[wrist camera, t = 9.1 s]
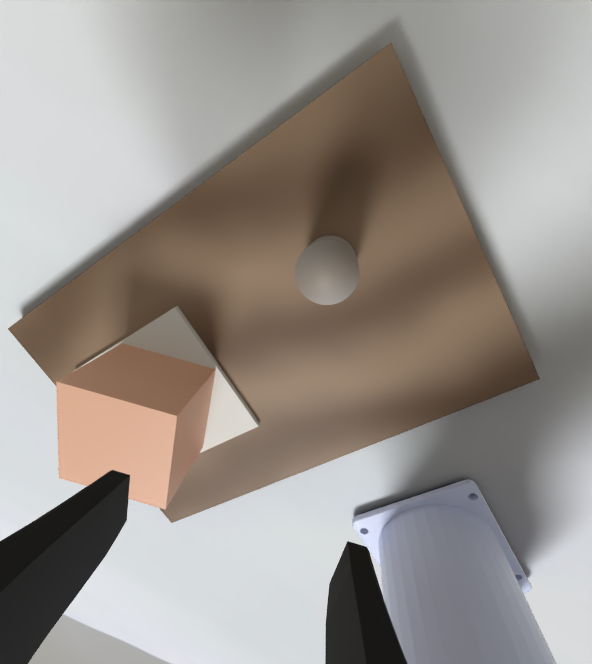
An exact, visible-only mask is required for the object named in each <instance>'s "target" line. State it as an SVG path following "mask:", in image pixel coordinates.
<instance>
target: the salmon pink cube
mask: <svg viewBox="0 0 592 664" xmlns="http://www.w3.org/2000/svg"><path fill="white" fill-rule="evenodd" d="M215 371H216V369H213V368H210V367H206V366H202V365H199V364H195V363H192V362H188V361H184V360H181V359H177V358H173V357H170V356H166V355H163V354H159V353H155V352H152V351H148V350H145V349H141V348H137V347H134V346H130V345H127V344H123V343H121V344H120V345H118V346H116V347H115V348H113V349H111V350H110V351H108V352H106V353H104V354H103V355H101V356H99V357H98V358H96V359H94V360H92V361H91V362H89V363H87V364H86V365H84V366H82V367H80V368H79V369H77V370H75V371H74V372H72V373H70V374H68V375H67V376H65V377H63V378H62V379H60V380H58V381H56V388H57V422H58V457H59V478H62V479H65V480H68V481H72V482H75V483H78V484H82V485H85V486H88V485H90V484H91V483H93V482H94V481H96V480H97V479H99V478H100V477H102V476H103V475H105V474H106V473H107V472H109V471H111V470H115V471H118V472H122V473H125V474H128V475H130V483H129V496H128V499H132V500H135V501H138V502H142V503H145V504H148V505H152V506H155V507H158V508H162V509H165V510H166V508H167V506H168V505H169V503H170V501H171V500H172V498H173V496H174V495H175V493H176V491H177V490H178V488H179V486H180V485H181V483H182V481H183V480H184V478H185V476H186V475H187V473H188V471H189V470H190V468H191V467H192V465H193V463H194V462H195V460H196V458H197V457H198V455H199V453H200V452H201V450H202V448H203V444H204V438H205V432H206V426H207V420H208V413H209V407H210V401H211V395H212V389H213V383H214V377H215Z"/></svg>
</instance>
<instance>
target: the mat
mask: <svg viewBox="0 0 592 664" xmlns="http://www.w3.org/2000/svg"><path fill="white" fill-rule="evenodd" d="M121 343H123V344H127V345H130V346H134V347H137V348H141V349H145V350H148V351H152V352H155V353H159V354H163V355H166V356H170V357H173V358H177V359H181V360H184V361H188V362H192V363H195V364H199V365H202V366H206V367H210V368H213V369H216V371H215V377H214V383H213V389H212V395H211V401H210V407H209V413H208V420H207V426H206V432H205V438H204V444H203V448H202V450H201V452H203V451H206V450H208V449H210V448H212V447H214V446H217V445H219V444H221V443H223V442H225V441H228V440H230V439H232V438H234V437H236V436H239V435H241V434H243V433H245V432H247V431H250V430H252V429H254V428H256V427H258V426H259V424H260V423H259V422H258V420H257V419H256V417H255V416H254V415H253V413H252V412H251V410H250V409H249V407H248V406H247V405H246V403H245V402H244V400H243V399H242V397H241V396H240V395H239V393H238V392H237V390H236V389H235V387H234V386H233V384H232V383H231V382H230V380H229V379H228V377H227V376H226V374H225V373H224V372H223V370H222V369H221V367H220V366H219V364H218V363H217V362H216V360H215V359H214V357H213V356H212V354H211V353H210V352H209V350H208V349H207V347H206V346H205V344H204V343H203V341H202V340H201V339H200V337H199V336H198V334H197V333H196V331H195V330H194V329H193V327H192V326H191V324H190V323H189V321H188V320H187V319H186V317H185V316H184V314H183V313H182V311H181V310H180V309H179V307H178V306H176V307H174V308H173V309H171V310H170V311H168V312H166V313H165V314H163V315H162V316H160V317H159V318H157V319H155V320H154V321H152V322H151V323H149V324H147V325H146V326H144V327H143V328H141V329H140V330H138V331H136V332H135V333H133V334H132V335H130V336H128V337H127V338H125V339H124V340H122V341H121V342H119V343H117V344H116V345H114V346H113V347H111V348H109V349H108V350H106V351H105V352H103V353H101V354H100V355H98V356H97V357H95V358H94V359H96V358H98V357H99V356H101V355H103V354H104V353H106V352H108V351H110V350H111V349H113V348H115V347H116V346H118V345H120V344H121ZM94 359H92V360H94ZM92 360H90V361H89V362H91V361H92ZM89 362H87V363H89ZM87 363H86V364H87ZM86 364H84V365H86ZM84 365H82V366H84ZM82 366H81V367H82ZM79 368H80V367H79ZM79 368H78V369H79ZM76 370H77V369H76ZM73 372H74V371H73ZM201 452H200V453H201Z"/></svg>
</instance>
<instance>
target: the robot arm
mask: <svg viewBox="0 0 592 664" xmlns="http://www.w3.org/2000/svg"><path fill="white" fill-rule="evenodd" d="M129 483H130V475H128V474H125V473H122V472H118V471H115V470H111V471H109V472H107V473H106V474H105V475H103V476H102V477H100V478H99V479H97V480H96V481H94V482H93V483H91V484H90V485H88V486H87V487H85V488H84V489H83V490H81V491H80V492H78V493H77V494H75V495H74V496H72V497H71V498H69V499H68V500H66V501H65V502H63V503H61V504H60V505H58V506H57V507H55V508H54V509H52V510H51V511H49V512H47V513H46V514H44V515H43V516H41V517H40V518H38V519H37V520H35V521H33V522H32V523H30V524H28V525H27V526H25V527H23V528H22V529H20V530H18V531H17V532H15V533H13V534H12V535H10V536H8V537H7V538H5V539H3V540H2V541H0V664H28V663H29V661H30V659H31V658H32V656H33V655H34V653H35V652H36V651H37V649H38V648H39V646H40V645H41V643H42V642H43V640H44V639H45V638H46V636H47V635H48V633H49V632H50V631H51V629H52V628H53V627H54V625H55V624H56V622H57V621H58V620H59V618H60V617H61V616H62V614H63V613H64V612H65V610H66V609H67V608H68V606H69V605H70V603H71V602H72V601H73V599H74V598H75V597H76V595H77V594H78V593H79V591H80V590H81V589H82V587H83V586H84V584H85V583H86V582H87V580H88V579H89V578H90V576H91V575H92V574H93V572H94V571H95V569H96V568H97V567H98V565H99V564H100V563H101V561H102V560H103V558H104V557H105V556H106V554H107V552H108V551H109V549H110V547H111V546H112V544H113V543H114V541H115V539H116V538H117V536H118V534H119V532H120V531H121V529H122V527H123V526H124V524H125V522H126V520H127V508H128V496H129ZM473 493H474V495H470V494H473ZM353 527H354V529H355V530H356V532H357V533H358V535H359V536H360V538H361V539H362V541H363V542H364V544H365V545H366V547H365V546H361V545H358V544H355V543H352V542H347V544H346V546H345V549H344V551H343V553H342V556H341V558H340V560H339V563H338V565H337V568H336V570H335V572H334V575H333V577H332V579H331V582H330V585H329V595H328V605H327V617H326V664H556V662H555V659H554V657H553V655H552V653H551V651H550V649H549V647H548V645H547V642H546V640H545V638H544V636H543V634H542V632H541V630H540V628H539V626H538V623H537V621H536V619H535V617H534V615H533V613H532V611H531V609H530V606H529V604H528V602H527V600H526V598H525V596H524V594H523V593H527V592H529V591H530V590H531V588H532V587H531V584H530V582H529V580H528V578H527V577H526V575H525V573H524V571H523V569H522V567H521V565H520V564H519V562H518V560H517V558H516V556H515V554H514V553H513V551H512V549H511V547H510V545H509V543H508V541H507V540H506V538H505V536H504V534H503V532H502V530H501V528H500V527H499V525H498V523H497V521H496V519H495V517H494V516H493V514H492V512H491V510H490V508H489V506H488V504H487V503H486V501H485V499H484V497H483V495H482V493H481V492H480V490H479V488H478V486H477V484H476V483H475V482H474V481H473V480H468V479H467V480H463V481H460V482H457V483H454V484H451V485H448V486H445V487H442V488H439V489H436V490H433V491H430V492H426V493H423V494H420V495H417V496H414V497H411V498H408V499H405V500H402V501H399V502H396V503H393V504H390V505H387V506H384V507H381V508H378V509H375V510H372V511H369V512H366V513H363V514H360V515H357V516H355V517H354V518H353ZM362 528H366V529H362ZM367 548H368V549H367ZM369 551H370V552H371V554H372V555H373V557H374V558H375V560H376V561H377V563H378V564H379V566H380V568H381V578H382V588H383V595H382V592H381V589H380V586H379V583H378V580H377V577H376V574H375V570H374V567H373V564H372V560H371V557H370V553H369Z"/></svg>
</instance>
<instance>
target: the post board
mask: <svg viewBox="0 0 592 664" xmlns="http://www.w3.org/2000/svg"><path fill="white" fill-rule="evenodd" d="M176 306H178V307H179V309H180V310H181V311H182V313H183V314H184V316H185V317H186V319H187V320H188V321H189V323H190V324H191V326H192V327H193V329H194V330H195V331H196V333H197V334H198V336H199V337H200V339H201V340H202V341H203V343H204V344H205V346H206V347H207V349H208V350H209V352H210V353H211V354H212V356H213V357H214V359H215V360H216V362H217V363H218V364H219V366H220V367H221V369H222V370H223V372H224V373H225V374H226V376H227V377H228V379H229V380H230V382H231V383H232V384H233V386H234V387H235V389H236V390H237V392H238V393H239V395H240V396H241V397H242V399H243V400H244V402H245V403H246V405H247V406H248V407H249V409H250V410H251V412H252V413H253V415H254V416H255V417H256V419H257V420H258V422H259V423H260V424H259V426H258V427H256V428H254V429H252V430H250V431H247V432H245V433H243V434H241V435H239V436H236V437H234V438H232V439H230V440H228V441H225V442H223V443H221V444H219V445H217V446H214V447H212V448H210V449H208V450H206V451H203V452H201V453H199V455H198V457H197V458H196V460H195V462H194V463H193V465H192V467H191V468H190V470H189V471H188V473H187V475H186V476H185V478H184V480H183V481H182V483H181V485H180V486H179V488H178V490H177V491H176V493H175V495H174V496H173V498H172V500H171V501H170V503H169V505H168V506H167V508H166V510H165V509H162V508H160V510H161V511H162V512H163V513H164V514H165V516H166V517H167V518H168V519H169V520H170V522H171V523H173V522H175V521H178V520H181V519H183V518H186V517H188V516H191V515H193V514H196V513H198V512H201V511H204V510H206V509H209V508H211V507H214V506H216V505H219V504H221V503H224V502H227V501H229V500H232V499H234V498H237V497H239V496H242V495H244V494H247V493H250V492H252V491H255V490H257V489H260V488H262V487H265V486H267V485H270V484H272V483H275V482H278V481H280V480H283V479H285V478H288V477H290V476H293V475H295V474H298V473H301V472H303V471H306V470H308V469H311V468H313V467H316V466H318V465H321V464H324V463H326V462H329V461H331V460H334V459H336V458H339V457H341V456H344V455H347V454H349V453H352V452H354V451H357V450H359V449H362V448H364V447H367V446H370V445H372V444H375V443H377V442H380V441H382V440H385V439H387V438H390V437H393V436H395V435H398V434H400V433H403V432H405V431H408V430H410V429H413V428H416V427H418V426H421V425H423V424H426V423H428V422H431V421H433V420H436V419H439V418H441V417H444V416H446V415H449V414H451V413H454V412H456V411H459V410H462V409H464V408H467V407H469V406H472V405H474V404H477V403H479V402H482V401H485V400H487V399H490V398H492V397H495V396H497V395H500V394H502V393H505V392H508V391H510V390H513V389H515V388H518V387H520V386H523V385H525V384H528V383H531V382H533V381H536V380H538V379H540V378H539V376H538V374H537V371H536V369H535V367H534V365H533V362H532V360H531V358H530V355H529V353H528V351H527V349H526V346H525V344H524V342H523V340H522V337H521V335H520V333H519V331H518V328H517V326H516V324H515V322H514V319H513V317H512V315H511V313H510V310H509V308H508V306H507V304H506V301H505V299H504V297H503V295H502V292H501V290H500V288H499V286H498V283H497V281H496V279H495V276H494V274H493V272H492V270H491V267H490V265H489V263H488V261H487V258H486V256H485V254H484V252H483V249H482V247H481V245H480V243H479V240H478V238H477V236H476V234H475V231H474V229H473V227H472V225H471V222H470V220H469V218H468V216H467V213H466V211H465V209H464V206H463V204H462V202H461V200H460V197H459V195H458V193H457V191H456V188H455V186H454V184H453V182H452V179H451V177H450V175H449V173H448V170H447V168H446V166H445V164H444V161H443V159H442V157H441V155H440V152H439V150H438V148H437V146H436V143H435V141H434V139H433V137H432V134H431V132H430V130H429V127H428V125H427V123H426V121H425V118H424V116H423V114H422V112H421V109H420V107H419V105H418V103H417V100H416V98H415V96H414V94H413V91H412V89H411V87H410V85H409V82H408V80H407V78H406V76H405V73H404V71H403V69H402V67H401V64H400V62H399V60H398V57H397V55H396V53H395V51H394V48H393V46H392V44H391V43H390V44H389V45H387V46H386V47H385V48H383V49H382V50H381V51H379V52H378V53H377V54H375V55H374V56H373V57H371V58H370V59H369V60H367V61H366V62H365V63H363V64H362V65H361V66H359V67H358V68H357V69H355V70H354V71H353V72H351V73H350V74H349V75H347V76H346V77H345V78H343V79H342V80H341V81H339V82H338V83H337V84H335V85H334V86H332V87H331V88H330V89H328V90H327V91H326V92H324V93H323V94H322V95H320V96H319V97H318V98H316V99H315V100H314V101H312V102H311V103H310V104H308V105H307V106H306V107H304V108H303V109H302V110H300V111H299V112H298V113H296V114H295V115H294V116H292V117H291V118H290V119H288V120H287V121H286V122H284V123H283V124H282V125H280V126H279V127H278V128H276V129H275V130H274V131H272V132H271V133H270V134H268V135H267V136H265V137H264V138H263V139H261V140H260V141H259V142H257V143H256V144H255V145H253V146H252V147H251V148H249V149H248V150H247V151H245V152H244V153H243V154H241V155H240V156H239V157H237V158H236V159H235V160H233V161H232V162H231V163H229V164H228V165H227V166H225V167H224V168H223V169H221V170H220V171H219V172H217V173H216V174H215V175H213V176H212V177H211V178H209V179H208V180H207V181H205V182H204V183H203V184H201V185H200V186H198V187H197V188H196V189H194V190H193V191H192V192H190V193H189V194H188V195H186V196H185V197H184V198H182V199H181V200H180V201H178V202H177V203H176V204H174V205H173V206H172V207H170V208H169V209H168V210H166V211H165V212H164V213H162V214H161V215H160V216H158V217H157V218H156V219H154V220H153V221H152V222H150V223H149V224H148V225H146V226H145V227H144V228H142V229H141V230H140V231H138V232H137V233H136V234H134V235H133V236H131V237H130V238H129V239H127V240H126V241H125V242H123V243H122V244H121V245H119V246H118V247H117V248H115V249H114V250H113V251H111V252H110V253H109V254H107V255H106V256H105V257H103V258H102V259H101V260H99V261H98V262H97V263H95V264H94V265H93V266H91V267H90V268H89V269H87V270H86V271H85V272H83V273H82V274H81V275H79V276H78V277H77V278H75V279H74V280H73V281H71V282H70V283H69V284H67V285H66V286H64V287H63V288H62V289H60V290H59V291H58V292H56V293H55V294H54V295H52V296H51V297H50V298H48V299H47V300H46V301H44V302H43V303H42V304H40V305H39V306H38V307H36V308H35V309H34V310H32V311H31V312H30V313H28V314H27V315H26V316H24V317H23V318H22V319H20V320H19V321H18V322H16V323H15V324H14V325H12V326H11V327H10V328H8V329H9V331H10V332H11V333H12V334H13V335H14V337H15V338H16V339H17V340H18V341H19V343H20V344H21V345H22V346H23V347H24V348H25V350H26V351H27V352H28V353H29V354H30V356H31V357H32V358H33V359H34V360H35V361H36V363H37V364H38V365H39V366H40V367H41V369H42V370H43V371H44V372H45V373H46V375H47V376H48V377H49V378H50V379H51V380H52V382H53V383H54V384H55V385H56V381H58V380H60V379H62V378H63V377H65V376H67V375H68V374H70V373H72V372H73V371H75V370H76V369H78V368H79V367H81V366H82V365H84V364H86V363H87V362H89V361H90V360H92V359H94V358H95V357H97V356H98V355H100V354H101V353H103V352H105V351H106V350H108V349H109V348H111V347H113V346H114V345H116V344H117V343H119V342H121V341H122V340H124V339H125V338H127V337H128V336H130V335H132V334H133V333H135V332H136V331H138V330H140V329H141V328H143V327H144V326H146V325H147V324H149V323H151V322H152V321H154V320H155V319H157V318H159V317H160V316H162V315H163V314H165V313H166V312H168V311H170V310H171V309H173V308H174V307H176Z"/></svg>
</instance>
